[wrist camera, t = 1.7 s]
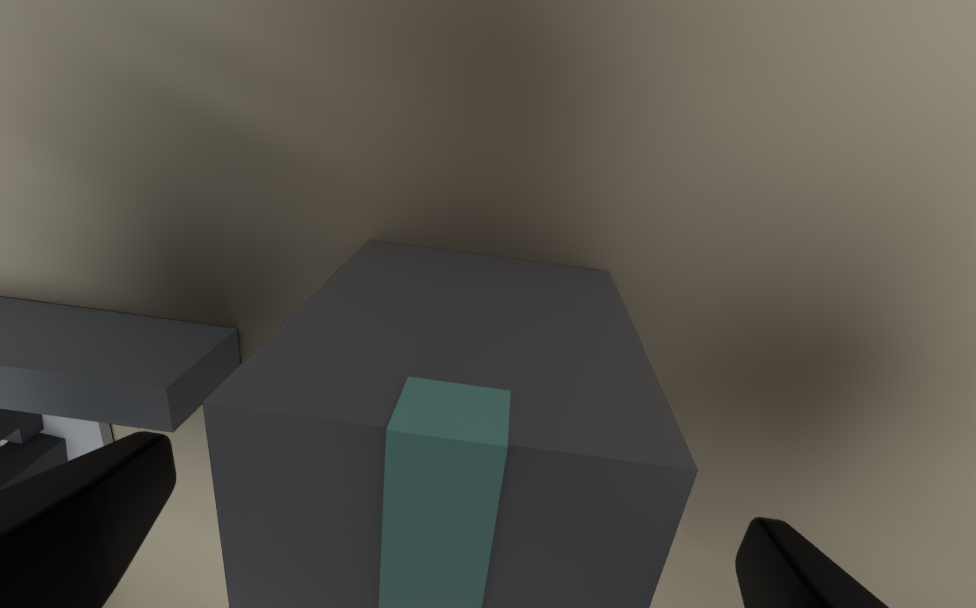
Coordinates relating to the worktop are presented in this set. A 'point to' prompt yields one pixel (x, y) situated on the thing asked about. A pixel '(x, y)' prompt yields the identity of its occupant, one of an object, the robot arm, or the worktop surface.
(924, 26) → the worktop surface
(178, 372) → the holder
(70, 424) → the clip
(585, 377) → the block
